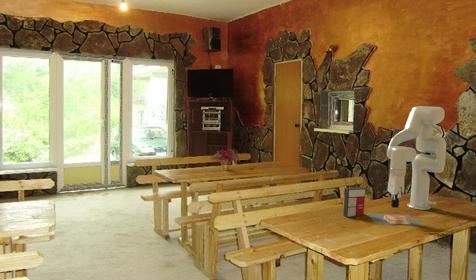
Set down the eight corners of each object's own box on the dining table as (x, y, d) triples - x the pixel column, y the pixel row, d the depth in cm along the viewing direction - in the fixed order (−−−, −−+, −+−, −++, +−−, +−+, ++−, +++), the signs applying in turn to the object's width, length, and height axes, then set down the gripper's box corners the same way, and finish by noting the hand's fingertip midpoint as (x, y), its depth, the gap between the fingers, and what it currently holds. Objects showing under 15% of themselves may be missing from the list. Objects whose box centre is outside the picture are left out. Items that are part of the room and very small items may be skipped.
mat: (408, 216, 225) (408, 214, 225) (425, 227, 207) (425, 225, 206) (364, 214, 225) (364, 213, 225) (377, 225, 206) (377, 223, 206)
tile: (403, 215, 216) (410, 220, 207) (402, 219, 216) (410, 224, 207) (384, 215, 216) (390, 220, 207) (383, 218, 216) (390, 223, 207)
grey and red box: (347, 217, 218) (349, 189, 216) (342, 215, 222) (344, 187, 220) (364, 216, 222) (366, 188, 220) (359, 214, 226) (361, 187, 224)
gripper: (384, 169, 220) (382, 203, 222) (396, 174, 205) (393, 210, 207) (399, 169, 221) (396, 203, 222) (411, 174, 206) (408, 211, 207)
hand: (394, 207), depth 215 cm, fingers closed
